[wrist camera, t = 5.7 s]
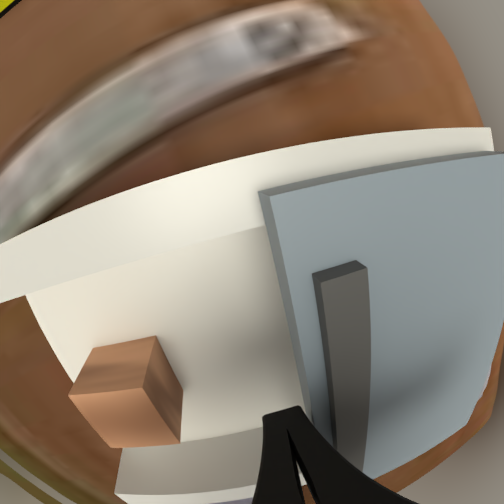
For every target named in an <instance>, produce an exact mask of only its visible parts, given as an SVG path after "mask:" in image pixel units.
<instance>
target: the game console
mask: <svg viewBox="0 0 504 504" xmlns="http://www.w3.org/2000/svg"><path fill="white" fill-rule="evenodd" d="M20 1H21V0H0V18H1V17H2V16H4V15H5V14H6V13H7V12H8V11H9V10H10V9H12V8H13V7H14V6H15V5H16V4H18V3H19V2H20Z"/></svg>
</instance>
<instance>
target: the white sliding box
mask: <svg viewBox="0 0 504 504" xmlns="http://www.w3.org/2000/svg"><path fill="white" fill-rule="evenodd" d="M478 151H494V147H493V141H492V134H491V128H440V129H422V130H408V131H397V132H387V133H377V134H369V135H361V136H353V137H346V138H339V139H332V140H326V141H320V142H314V143H308V144H303V145H297V146H292V147H287V148H282V149H277V150H272V151H267V152H263V153H258V154H253V155H249V156H245V157H241V158H236V159H232V160H228V161H224V162H220V163H216V164H213V165H209V166H205V167H201V168H198V169H194V170H191V171H187V172H184V173H180V174H177V175H174V176H170V177H167V178H164V179H160V180H157V181H154V182H151V183H148V184H145V185H142V186H139V187H136V188H133V189H130V190H127V191H124V192H121V193H119V194H116V195H113V196H110V197H107V198H105V199H102V200H99V201H97V202H94V203H92V204H89V205H86V206H84V207H81V208H79V209H76V210H74V211H72V212H69V213H67V214H64V215H62V216H60V217H57V218H55V219H53V220H50V221H48V222H46V223H44V224H41V225H39V226H37V227H35V228H33V229H30V230H28V231H26V232H24V233H22V234H20V235H18V236H16V237H14V238H12V239H10V240H8V241H6V242H4V243H2V244H0V303H2V302H5V301H8V300H11V299H14V298H17V297H20V296H23V295H26V297H27V300H28V302H29V304H30V306H31V308H32V310H33V313H34V315H35V317H36V319H37V321H38V323H39V325H40V327H41V329H42V331H43V332H44V334H45V336H46V338H47V340H48V342H49V344H50V345H51V347H52V349H53V351H54V352H55V354H56V356H57V357H58V359H59V361H60V362H61V364H62V366H63V367H64V369H65V370H66V372H67V374H68V375H69V377H70V378H71V380H72V381H73V383H74V382H75V380H76V378H77V376H78V375H79V373H80V371H81V369H82V367H83V365H84V363H85V361H86V360H87V358H88V356H89V354H90V352H91V350H92V349H93V348H95V347H101V346H106V345H111V344H116V343H122V342H126V341H131V340H136V339H141V338H146V337H150V336H155V335H156V336H157V339H158V341H159V343H160V345H161V347H162V349H163V351H164V353H165V355H166V357H167V359H168V361H169V363H170V365H171V367H172V369H173V371H174V373H175V375H176V377H177V379H178V381H179V383H180V385H181V387H182V389H183V404H182V421H181V440H180V444H172V445H162V446H149V447H131V448H123V450H122V455H121V460H120V465H119V470H118V476H117V481H116V487H115V493H114V494H116V495H117V496H118V497H120V498H121V499H122V500H124V501H125V502H127V503H128V504H209V503H219V502H227V501H234V500H240V499H246V498H252V497H253V496H254V493H255V489H256V484H257V479H258V474H259V469H260V463H261V454H262V444H263V422H262V417H263V416H264V415H265V414H269V413H272V412H276V411H280V410H283V409H287V408H290V407H293V406H296V405H298V406H301V407H302V409H303V411H304V413H305V414H306V411H305V406H304V401H303V396H302V391H301V386H300V381H299V376H298V371H297V366H296V362H295V357H294V352H293V347H292V342H291V338H290V333H289V328H288V323H287V319H286V314H285V309H284V305H283V300H282V296H281V291H280V287H279V282H278V277H277V273H276V268H275V264H274V260H273V255H272V251H271V246H270V242H269V238H268V233H267V229H266V225H265V220H264V216H263V212H262V207H261V203H260V199H259V195H258V191H261V190H265V189H269V188H273V187H278V186H282V185H286V184H290V183H295V182H299V181H304V180H308V179H313V178H318V177H323V176H327V175H332V174H337V173H342V172H347V171H352V170H358V169H363V168H368V167H374V166H380V165H385V164H391V163H397V162H403V161H410V160H416V159H423V158H430V157H437V156H445V155H452V154H460V153H469V152H478ZM296 462H297V461H296ZM297 466H298V464H297ZM298 471H299V476H300V481H301V486H303V485H306V484H307V483H306V481H305V479H304V477H303V475H302V473H301V470H300V468H299V466H298Z"/></svg>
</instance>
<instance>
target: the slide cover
mask: <svg viewBox="0 0 504 504" xmlns="http://www.w3.org/2000/svg"><path fill="white" fill-rule="evenodd" d="M258 195H259V199H260V203H261V207H262V212H263V216H264V220H265V225H266V229H267V233H268V238H269V242H270V246H271V251H272V255H273V260H274V264H275V268H276V273H277V277H278V282H279V287H280V291H281V296H282V300H283V305H284V309H285V314H286V319H287V323H288V328H289V333H290V338H291V342H292V347H293V352H294V357H295V362H296V366H297V371H298V376H299V381H300V386H301V391H302V396H303V401H304V406H305V411H306V416H307V417H308V419H309V420H310V421H311V423H312V424H313V425H314V427H315V428H316V429H317V430H318V432H319V433H320V434H321V435H322V436H323V437H324V438H325V439H326V440H327V441H328V442H329V443H330V445H331V446H332V447H333V448H334V449H335V450H336V451H338V452H339V453H340V454H341V455H342V456H343V457H344V458H345V459H346V460H348V461H349V462H350V463H351V464H352V465H354V466H355V467H356V468H357V469H359V470H360V471H361V472H363V473H364V474H365V475H367V476H368V477H370V478H371V479H374V478H376V477H379V476H381V475H383V474H385V473H387V472H389V471H391V470H393V469H395V468H397V467H399V466H401V465H403V464H405V463H407V462H408V461H410V460H412V459H414V458H416V457H417V456H419V455H421V454H423V453H424V452H426V451H428V450H429V449H431V448H432V447H434V446H436V445H437V444H439V443H440V442H442V441H443V440H445V439H446V438H448V437H449V436H451V435H452V434H454V433H455V432H457V431H458V430H459V429H461V428H462V427H463V426H465V425H466V424H467V422H468V420H469V418H470V416H471V414H472V411H473V409H474V407H475V405H476V402H477V400H478V398H479V395H480V393H481V390H482V388H483V385H484V383H485V380H486V377H487V375H488V372H489V369H490V366H491V363H492V360H493V357H494V354H495V351H496V347H497V344H498V340H499V337H500V333H501V329H502V325H503V321H504V152H497V151H478V152H469V153H460V154H452V155H445V156H437V157H430V158H423V159H416V160H410V161H403V162H397V163H391V164H385V165H380V166H374V167H368V168H363V169H358V170H352V171H347V172H342V173H337V174H332V175H327V176H323V177H318V178H313V179H308V180H304V181H299V182H295V183H290V184H286V185H282V186H278V187H273V188H269V189H265V190H261V191H258Z"/></svg>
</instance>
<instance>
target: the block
mask: <svg viewBox="0 0 504 504" xmlns="http://www.w3.org/2000/svg"><path fill="white" fill-rule="evenodd" d="M68 396H69V397H70V399H71V400H72V401H73V403H74V404H75V406H76V407H77V408H78V409H79V411H80V412H81V413H82V415H83V416H84V417H85V418H86V420H87V421H88V422H89V423H90V424H91V426H92V427H93V428H94V429H95V430H96V432H97V433H98V434H99V435H100V436H101V437H102V438H103V440H104V441H105V442H106V443H107V444H108V445H109V446H110V447H111V448H131V447H149V446H162V445H172V444H180V440H181V421H182V404H183V389H182V387H181V385H180V383H179V381H178V379H177V377H176V375H175V373H174V371H173V369H172V367H171V365H170V363H169V361H168V359H167V357H166V355H165V353H164V351H163V349H162V347H161V345H160V343H159V341H158V339H157V336H156V335H155V336H150V337H146V338H141V339H136V340H131V341H126V342H122V343H116V344H111V345H106V346H101V347H95V348H93V349H92V350H91V352H90V354H89V356H88V358H87V360H86V361H85V363H84V365H83V367H82V369H81V371H80V373H79V375H78V376H77V378H76V380H75V382H74V384H73V386H72V388H71V390H70V392H69V394H68Z"/></svg>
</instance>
